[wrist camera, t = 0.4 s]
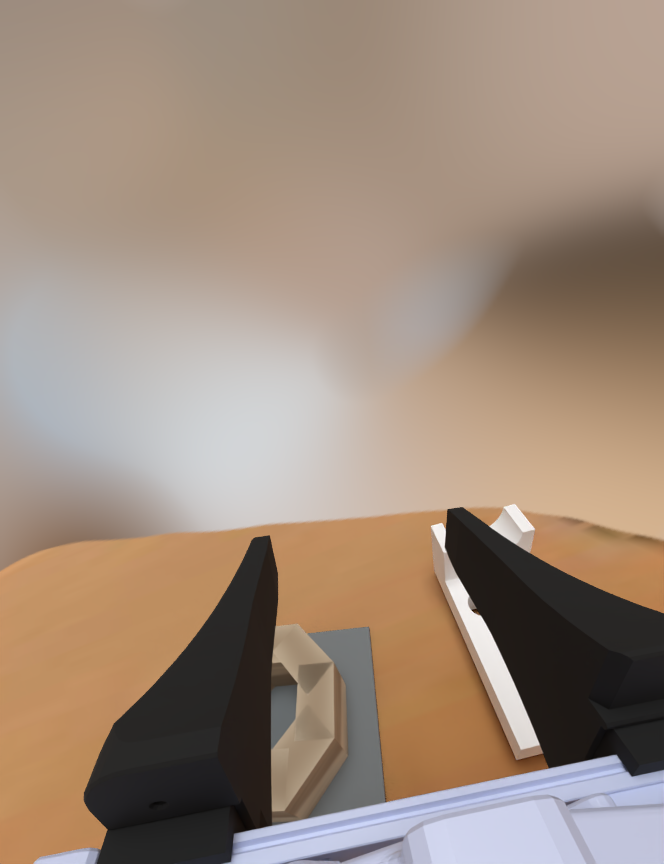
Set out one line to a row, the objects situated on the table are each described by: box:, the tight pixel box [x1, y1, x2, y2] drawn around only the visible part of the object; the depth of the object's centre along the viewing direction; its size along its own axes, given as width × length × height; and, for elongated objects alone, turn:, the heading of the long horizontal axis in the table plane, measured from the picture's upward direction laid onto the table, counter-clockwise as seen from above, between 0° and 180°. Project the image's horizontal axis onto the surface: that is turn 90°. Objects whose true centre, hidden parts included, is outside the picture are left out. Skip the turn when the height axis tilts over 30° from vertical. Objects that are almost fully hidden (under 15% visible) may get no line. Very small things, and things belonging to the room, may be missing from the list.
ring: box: [271, 624, 348, 822], centre depth 23 cm, size 10×10×4 cm
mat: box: [271, 627, 386, 826], centre depth 22 cm, size 20×16×1 cm
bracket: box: [431, 504, 543, 760], centre depth 24 cm, size 13×7×8 cm, turn 8°
